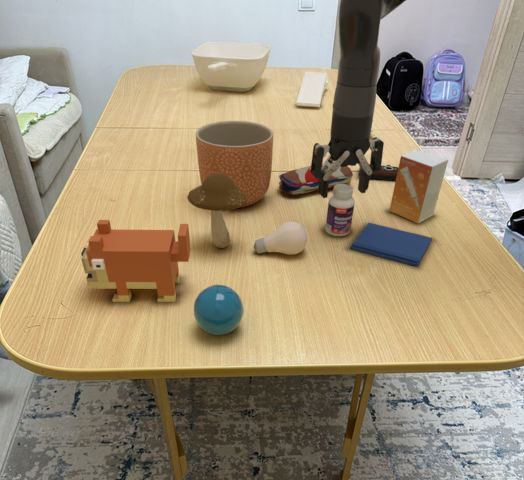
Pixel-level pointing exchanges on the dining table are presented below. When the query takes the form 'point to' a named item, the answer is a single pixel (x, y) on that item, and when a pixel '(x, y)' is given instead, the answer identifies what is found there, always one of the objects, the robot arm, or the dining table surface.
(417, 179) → the small box
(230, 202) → the mushroom
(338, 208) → the pill bottle
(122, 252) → the toy character
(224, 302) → the ball
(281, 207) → the dining table surface
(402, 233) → the book
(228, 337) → the dining table surface
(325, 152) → the robot arm
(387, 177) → the camera
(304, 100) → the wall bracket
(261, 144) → the planter
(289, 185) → the pencil case
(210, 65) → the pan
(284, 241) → the light bulb
